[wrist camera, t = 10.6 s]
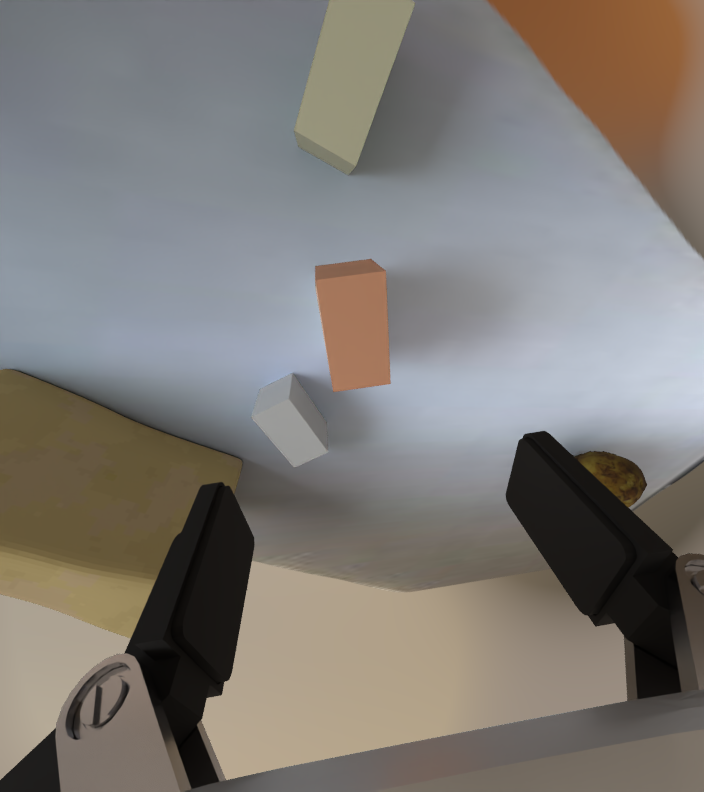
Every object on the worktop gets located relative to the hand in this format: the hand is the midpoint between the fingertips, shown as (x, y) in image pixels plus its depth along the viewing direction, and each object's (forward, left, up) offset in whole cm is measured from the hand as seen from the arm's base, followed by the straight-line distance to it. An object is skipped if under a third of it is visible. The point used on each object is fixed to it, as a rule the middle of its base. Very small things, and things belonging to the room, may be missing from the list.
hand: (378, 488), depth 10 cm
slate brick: (+9, -6, -20) cm, 23 cm away
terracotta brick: (-1, +1, -15) cm, 15 cm away
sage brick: (-14, +2, -20) cm, 25 cm away
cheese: (+10, -23, -21) cm, 32 cm away
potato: (+25, +27, -20) cm, 42 cm away
